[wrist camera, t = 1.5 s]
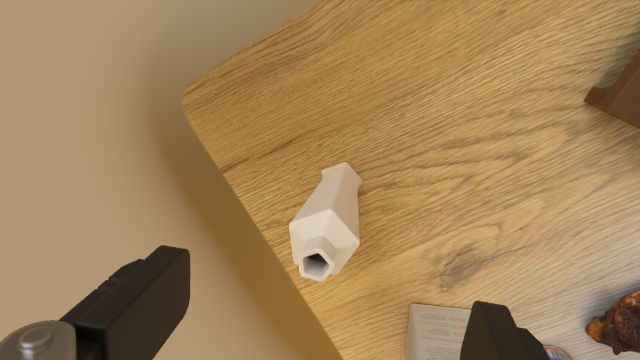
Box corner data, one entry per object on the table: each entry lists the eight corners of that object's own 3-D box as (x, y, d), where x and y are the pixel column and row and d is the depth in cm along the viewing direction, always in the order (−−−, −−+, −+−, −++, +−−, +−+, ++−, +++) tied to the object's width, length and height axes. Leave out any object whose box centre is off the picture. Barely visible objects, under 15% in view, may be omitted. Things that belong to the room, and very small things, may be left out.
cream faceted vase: (367, 205, 38) (359, 300, 24) (321, 206, 38) (285, 299, 24) (365, 157, 36) (354, 227, 22) (316, 159, 37) (276, 229, 23)
